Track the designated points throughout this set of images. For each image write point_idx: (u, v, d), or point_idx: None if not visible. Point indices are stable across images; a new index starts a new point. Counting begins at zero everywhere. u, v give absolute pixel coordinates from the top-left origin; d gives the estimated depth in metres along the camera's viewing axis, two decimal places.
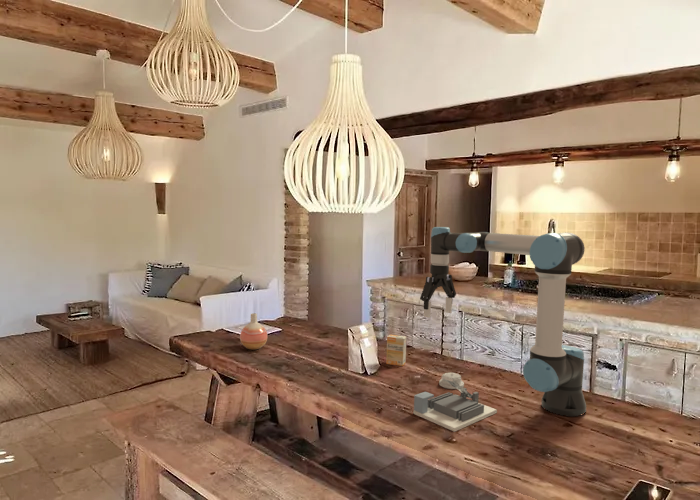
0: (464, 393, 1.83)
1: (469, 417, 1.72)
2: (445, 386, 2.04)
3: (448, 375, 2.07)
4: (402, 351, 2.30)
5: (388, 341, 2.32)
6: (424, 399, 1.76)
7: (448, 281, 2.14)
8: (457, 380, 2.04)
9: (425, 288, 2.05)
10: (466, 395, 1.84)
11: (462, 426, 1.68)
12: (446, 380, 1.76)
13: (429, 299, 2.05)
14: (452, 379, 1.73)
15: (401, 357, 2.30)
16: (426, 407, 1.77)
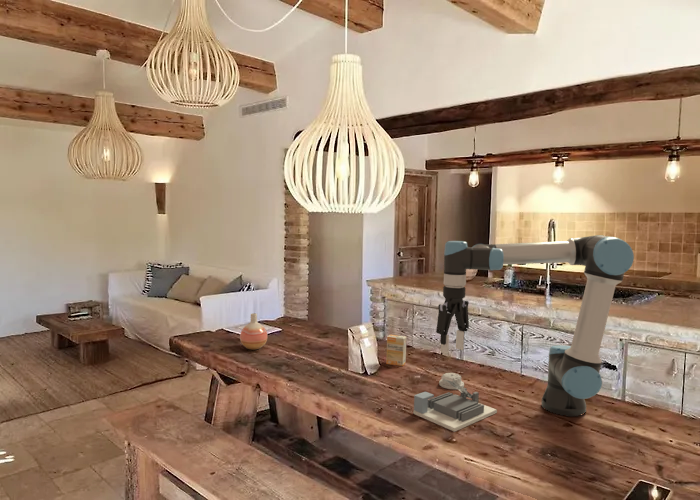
0: (464, 393, 1.83)
1: (469, 417, 1.72)
2: (445, 386, 2.04)
3: (448, 375, 2.07)
4: (402, 351, 2.30)
5: (388, 341, 2.32)
6: (424, 399, 1.76)
7: (463, 308, 1.78)
8: (457, 380, 2.04)
9: (440, 319, 1.70)
10: (466, 395, 1.84)
11: (462, 426, 1.68)
12: (446, 380, 1.76)
13: (447, 332, 1.71)
14: (452, 379, 1.73)
15: (401, 357, 2.30)
16: (426, 407, 1.77)
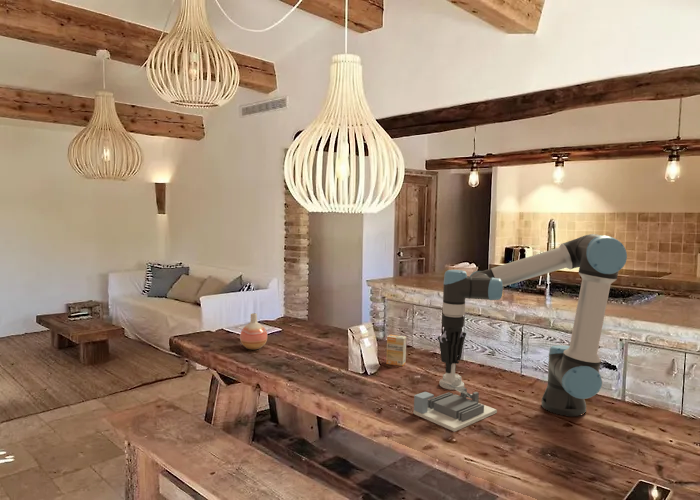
0: (464, 394, 1.83)
1: (469, 417, 1.72)
2: (445, 387, 2.03)
3: None
4: (402, 351, 2.30)
5: (388, 341, 2.32)
6: (424, 399, 1.76)
7: (459, 339, 1.78)
8: (457, 381, 2.04)
9: (442, 350, 1.72)
10: (466, 395, 1.84)
11: (462, 426, 1.68)
12: (445, 383, 1.76)
13: (452, 360, 1.74)
14: None
15: (401, 357, 2.30)
16: (426, 407, 1.77)
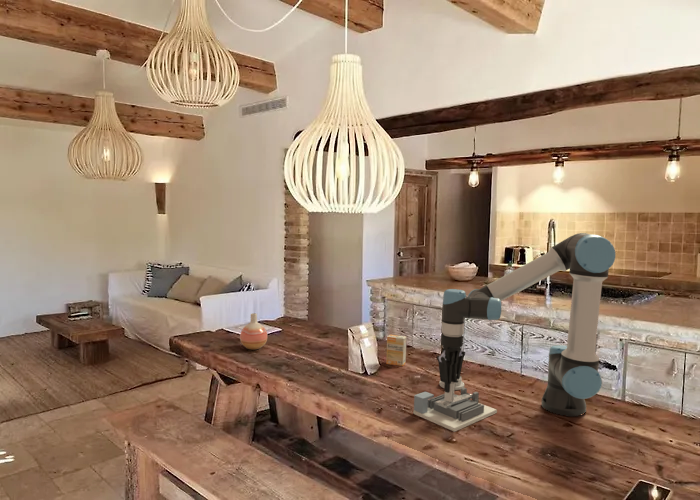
0: None
1: (469, 417, 1.72)
2: None
3: None
4: (402, 351, 2.30)
5: (388, 341, 2.32)
6: (424, 399, 1.76)
7: (458, 358, 1.78)
8: None
9: (441, 369, 1.73)
10: None
11: (462, 426, 1.68)
12: None
13: (450, 380, 1.75)
14: (445, 406, 1.72)
15: (401, 357, 2.30)
16: (426, 407, 1.77)
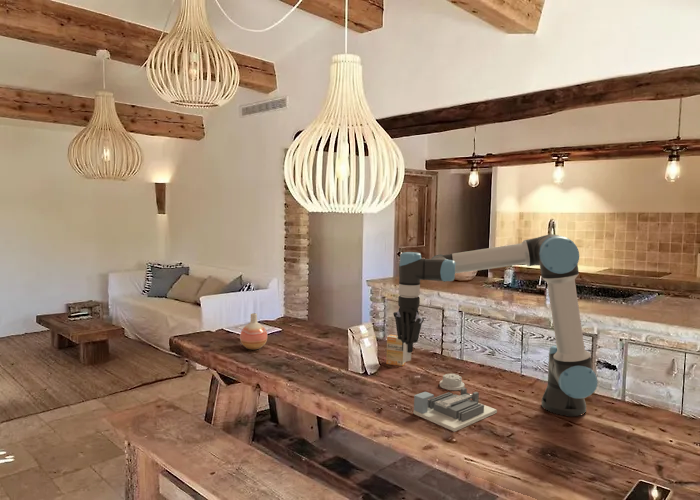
0: None
1: (469, 417, 1.72)
2: (446, 387, 2.03)
3: (448, 376, 2.06)
4: (402, 351, 2.30)
5: (388, 341, 2.32)
6: (424, 399, 1.76)
7: None
8: (458, 381, 2.03)
9: None
10: None
11: (462, 426, 1.68)
12: None
13: (403, 339, 1.81)
14: (445, 406, 1.72)
15: (401, 357, 2.30)
16: (426, 407, 1.77)
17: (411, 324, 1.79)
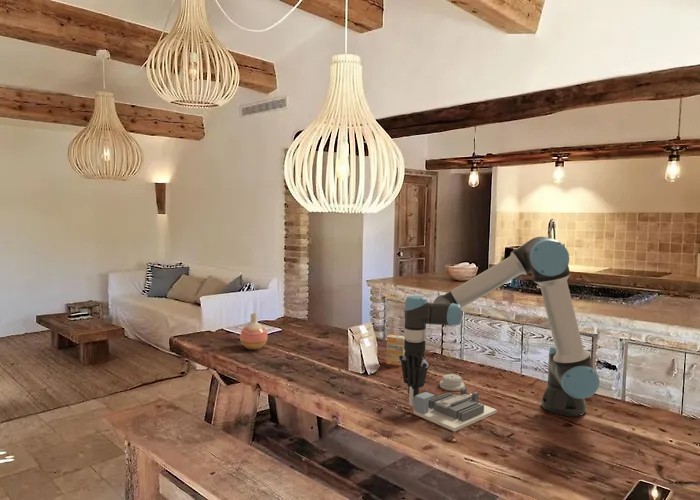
0: None
1: (469, 417, 1.72)
2: (446, 388, 2.02)
3: (449, 377, 2.05)
4: (402, 351, 2.30)
5: (388, 341, 2.32)
6: (425, 399, 1.75)
7: None
8: (458, 382, 2.03)
9: None
10: None
11: (462, 426, 1.68)
12: None
13: (409, 383, 1.80)
14: (445, 406, 1.72)
15: None
16: (427, 407, 1.77)
17: (417, 368, 1.78)
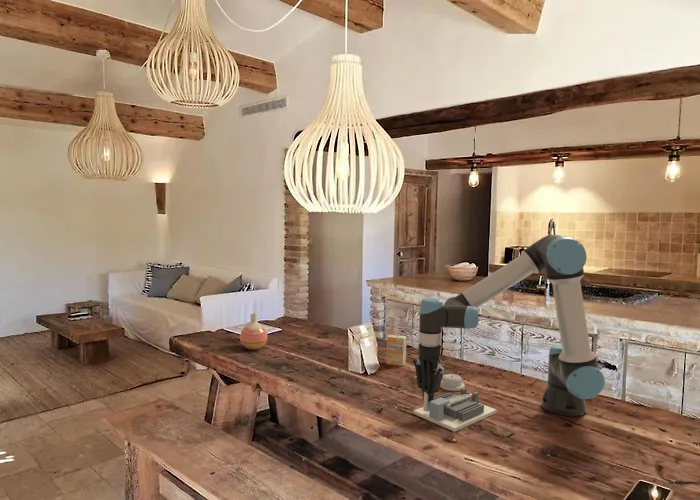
0: None
1: (469, 417, 1.72)
2: (446, 388, 2.02)
3: (449, 377, 2.05)
4: (402, 351, 2.30)
5: (388, 341, 2.32)
6: (440, 405, 1.70)
7: None
8: (458, 382, 2.02)
9: None
10: None
11: (462, 426, 1.68)
12: None
13: (423, 388, 1.75)
14: (445, 406, 1.72)
15: (401, 357, 2.30)
16: (442, 414, 1.71)
17: (432, 373, 1.73)
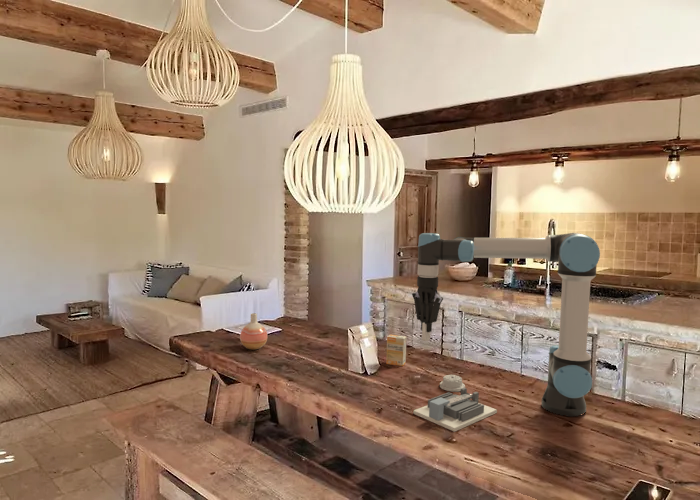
0: None
1: (469, 417, 1.72)
2: (446, 389, 2.01)
3: (449, 377, 2.04)
4: (402, 351, 2.30)
5: (388, 341, 2.32)
6: (440, 405, 1.70)
7: None
8: (458, 382, 2.02)
9: None
10: None
11: (462, 426, 1.68)
12: None
13: (422, 319, 1.84)
14: (445, 406, 1.72)
15: (401, 357, 2.30)
16: (442, 414, 1.72)
17: (430, 304, 1.82)
